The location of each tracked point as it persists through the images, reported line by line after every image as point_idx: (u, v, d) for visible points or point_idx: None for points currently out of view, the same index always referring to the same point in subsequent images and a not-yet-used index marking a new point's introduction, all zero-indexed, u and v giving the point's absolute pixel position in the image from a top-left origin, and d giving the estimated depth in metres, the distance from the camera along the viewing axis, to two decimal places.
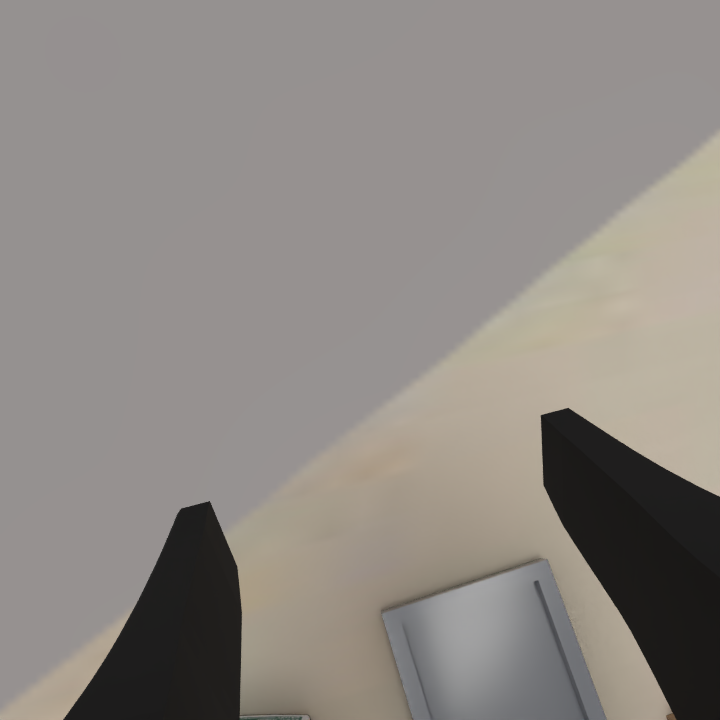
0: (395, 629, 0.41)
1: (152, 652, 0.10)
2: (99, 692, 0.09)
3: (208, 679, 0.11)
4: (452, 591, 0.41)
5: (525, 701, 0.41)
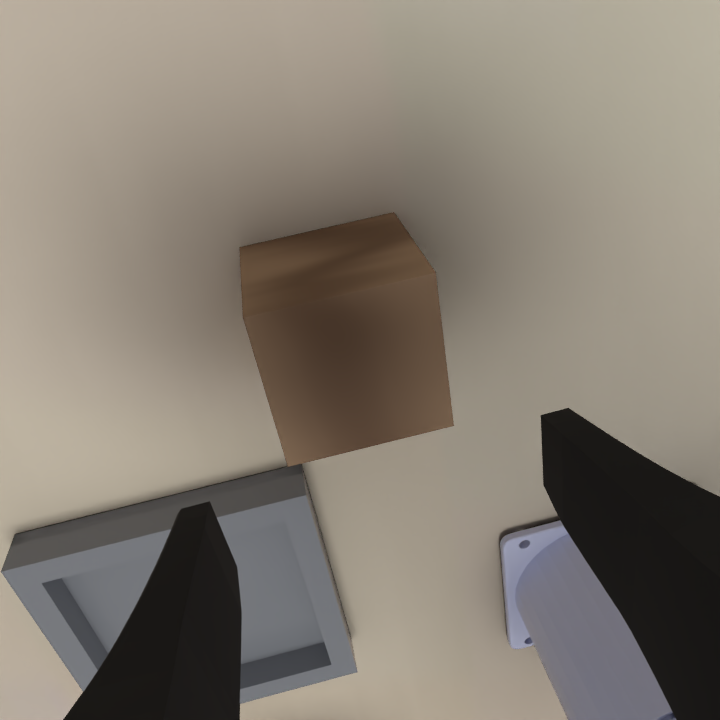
0: None
1: (152, 652, 0.10)
2: (98, 692, 0.09)
3: (208, 679, 0.11)
4: (74, 675, 0.27)
5: (241, 568, 0.27)
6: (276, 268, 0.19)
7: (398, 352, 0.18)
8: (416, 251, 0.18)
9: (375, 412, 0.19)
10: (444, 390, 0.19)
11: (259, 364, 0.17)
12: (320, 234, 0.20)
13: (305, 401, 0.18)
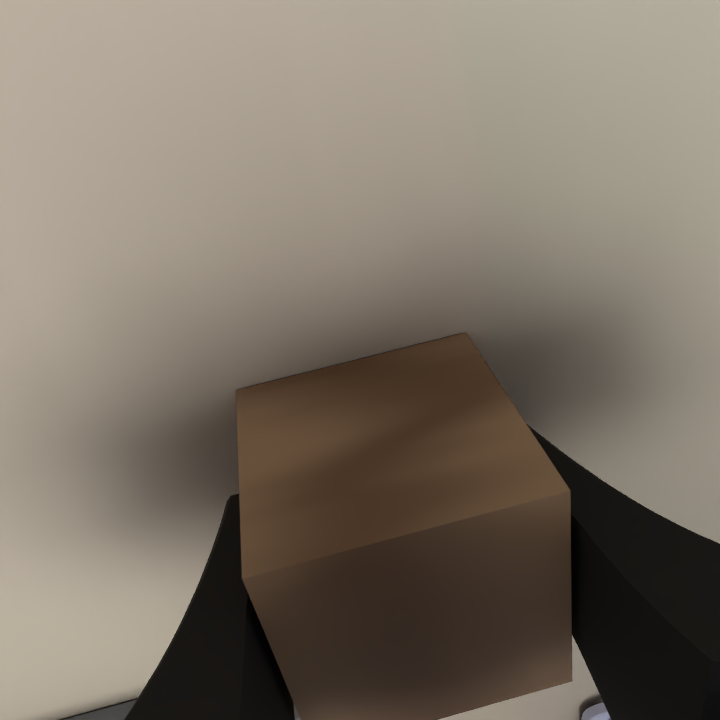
0: None
1: (220, 634, 0.10)
2: (171, 672, 0.09)
3: (269, 662, 0.11)
4: None
5: None
6: (293, 448, 0.12)
7: (499, 601, 0.11)
8: (523, 430, 0.11)
9: (454, 677, 0.12)
10: (564, 641, 0.12)
11: (270, 637, 0.10)
12: (358, 374, 0.13)
13: (345, 675, 0.11)
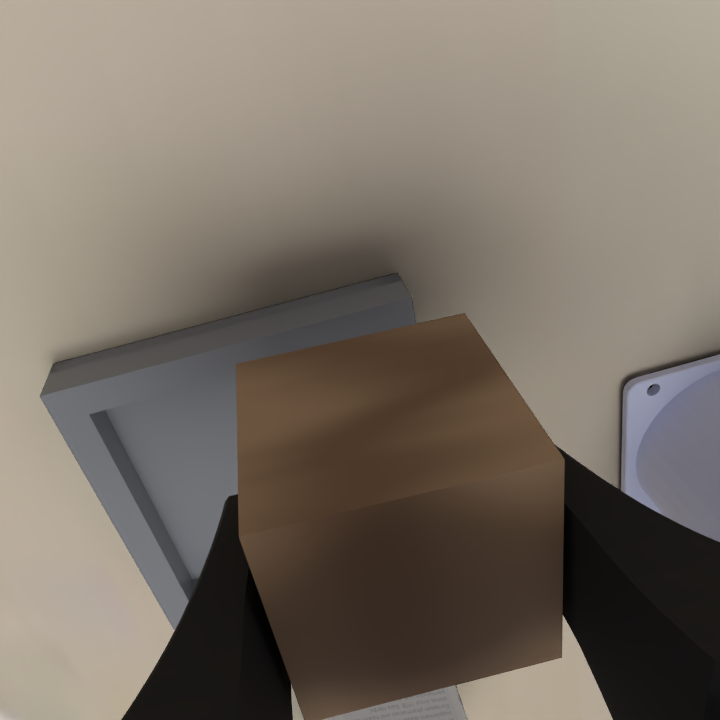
0: None
1: (217, 634, 0.10)
2: (168, 673, 0.09)
3: (267, 662, 0.11)
4: (127, 545, 0.22)
5: None
6: (292, 417, 0.12)
7: (491, 571, 0.11)
8: (519, 403, 0.11)
9: (445, 649, 0.12)
10: (555, 615, 0.12)
11: (264, 599, 0.10)
12: (357, 350, 0.14)
13: (337, 643, 0.11)
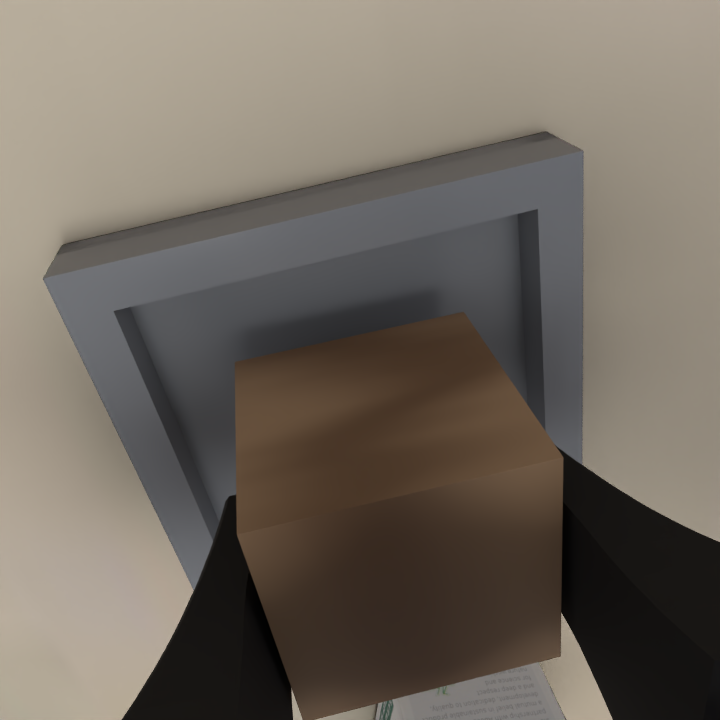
0: None
1: (218, 634, 0.10)
2: (169, 673, 0.09)
3: (267, 662, 0.11)
4: (157, 509, 0.16)
5: None
6: (290, 415, 0.12)
7: (489, 569, 0.11)
8: (518, 401, 0.11)
9: (444, 647, 0.12)
10: (554, 614, 0.12)
11: (263, 597, 0.10)
12: (356, 348, 0.14)
13: (335, 641, 0.11)
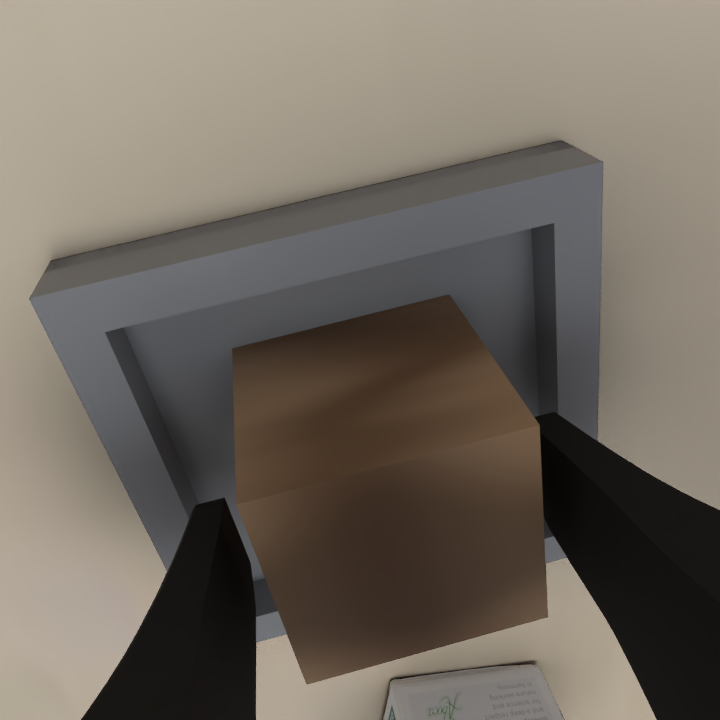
0: None
1: (172, 646, 0.10)
2: (120, 686, 0.09)
3: (226, 674, 0.11)
4: (152, 536, 0.15)
5: None
6: (285, 396, 0.13)
7: (475, 534, 0.12)
8: (498, 376, 0.12)
9: (436, 610, 0.13)
10: (539, 576, 0.13)
11: (263, 563, 0.11)
12: (347, 332, 0.14)
13: (333, 605, 0.12)
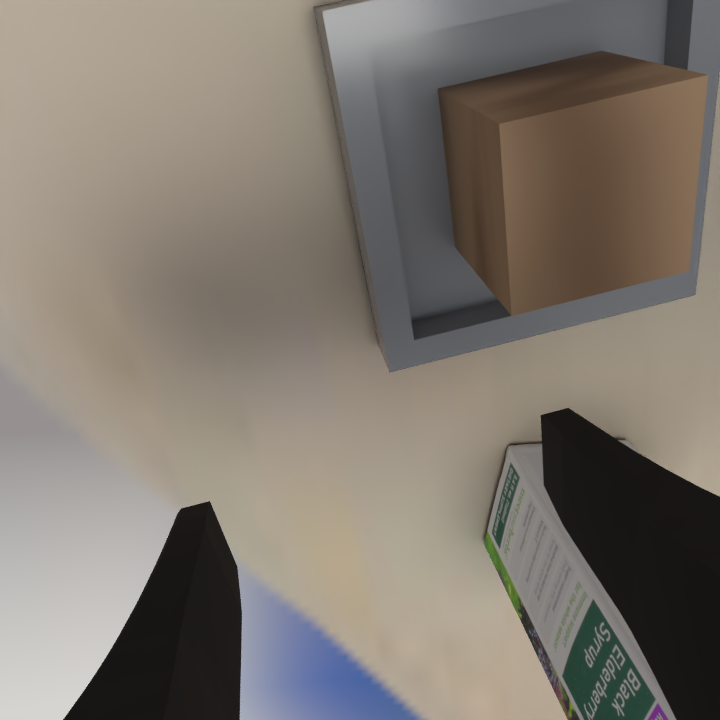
0: (420, 350, 0.22)
1: (152, 652, 0.10)
2: (99, 692, 0.09)
3: (208, 679, 0.11)
4: (367, 245, 0.20)
5: None
6: (500, 94, 0.17)
7: (651, 176, 0.16)
8: (665, 67, 0.16)
9: (612, 251, 0.17)
10: (688, 226, 0.17)
11: (505, 185, 0.16)
12: (529, 71, 0.19)
13: (544, 235, 0.16)
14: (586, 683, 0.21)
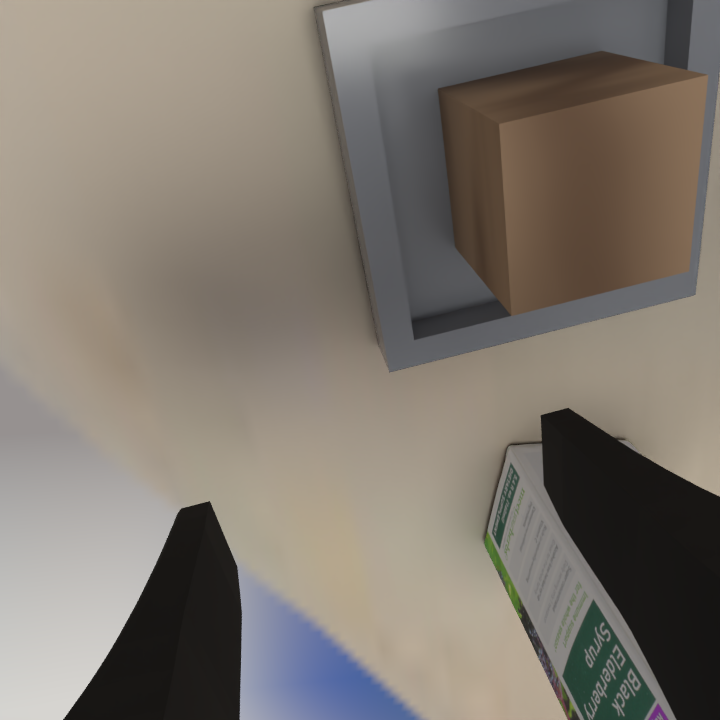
0: (420, 350, 0.22)
1: (152, 652, 0.10)
2: (99, 692, 0.09)
3: (208, 679, 0.11)
4: (367, 245, 0.20)
5: None
6: (500, 94, 0.17)
7: (651, 176, 0.16)
8: (665, 67, 0.16)
9: (612, 251, 0.17)
10: (688, 226, 0.17)
11: (505, 185, 0.16)
12: (529, 71, 0.19)
13: (544, 235, 0.16)
14: (586, 683, 0.21)
